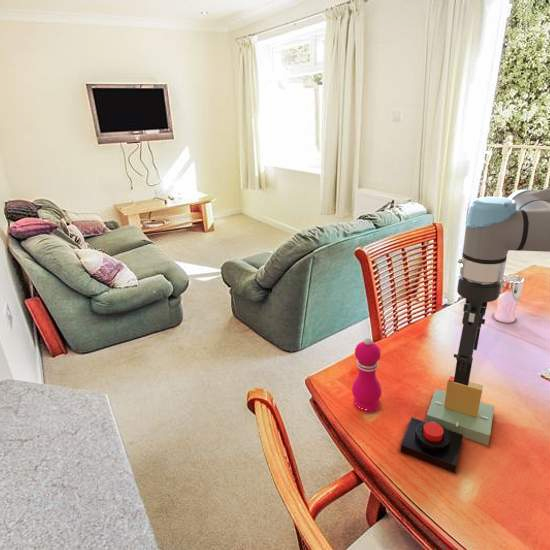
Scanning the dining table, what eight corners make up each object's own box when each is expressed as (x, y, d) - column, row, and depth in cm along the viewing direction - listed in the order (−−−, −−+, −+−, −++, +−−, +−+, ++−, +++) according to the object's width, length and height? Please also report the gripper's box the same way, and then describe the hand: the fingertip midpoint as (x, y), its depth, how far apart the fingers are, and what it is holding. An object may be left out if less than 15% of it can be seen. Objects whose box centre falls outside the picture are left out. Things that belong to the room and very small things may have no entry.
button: (444, 431, 81) (445, 425, 81) (440, 445, 78) (441, 439, 78) (425, 425, 84) (425, 419, 83) (421, 438, 80) (421, 432, 80)
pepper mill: (382, 415, 92) (385, 347, 84) (352, 413, 93) (352, 346, 85) (379, 394, 98) (382, 330, 90) (351, 393, 100) (352, 329, 92)
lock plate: (492, 413, 90) (494, 403, 88) (487, 447, 81) (490, 437, 80) (435, 396, 96) (436, 386, 95) (425, 426, 88) (426, 415, 86)
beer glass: (491, 320, 126) (498, 280, 120) (493, 311, 131) (501, 272, 125) (515, 325, 122) (524, 284, 116) (517, 315, 127) (525, 275, 121)
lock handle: (478, 412, 86) (483, 384, 83) (477, 418, 85) (482, 389, 82) (445, 402, 90) (449, 374, 87) (443, 407, 88) (447, 380, 85)
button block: (461, 441, 83) (464, 428, 81) (455, 473, 76) (457, 459, 75) (410, 424, 89) (412, 411, 87) (400, 452, 82) (401, 438, 80)
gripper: (468, 253, 85) (456, 332, 94) (448, 300, 66) (436, 394, 75) (506, 257, 81) (490, 339, 90) (496, 309, 62) (478, 406, 71)
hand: (465, 364), depth 82 cm, fingers open, 13 cm apart
